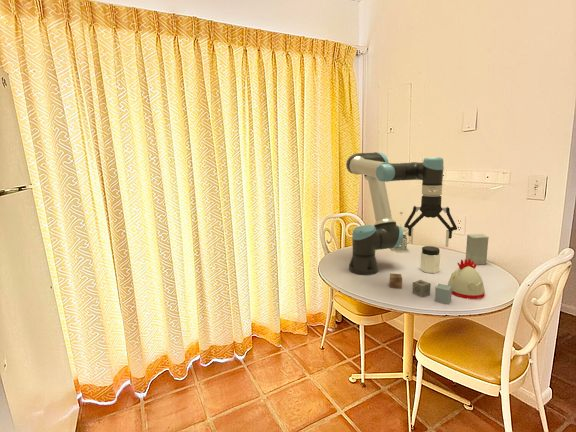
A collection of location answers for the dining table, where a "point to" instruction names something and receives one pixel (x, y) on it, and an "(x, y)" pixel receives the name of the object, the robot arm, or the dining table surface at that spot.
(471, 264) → the kitchen timer
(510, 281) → the dining table surface
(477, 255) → the skincare box
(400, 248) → the french press
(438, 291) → the slate block
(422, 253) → the jar
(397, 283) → the walnut block
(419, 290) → the dice cube
